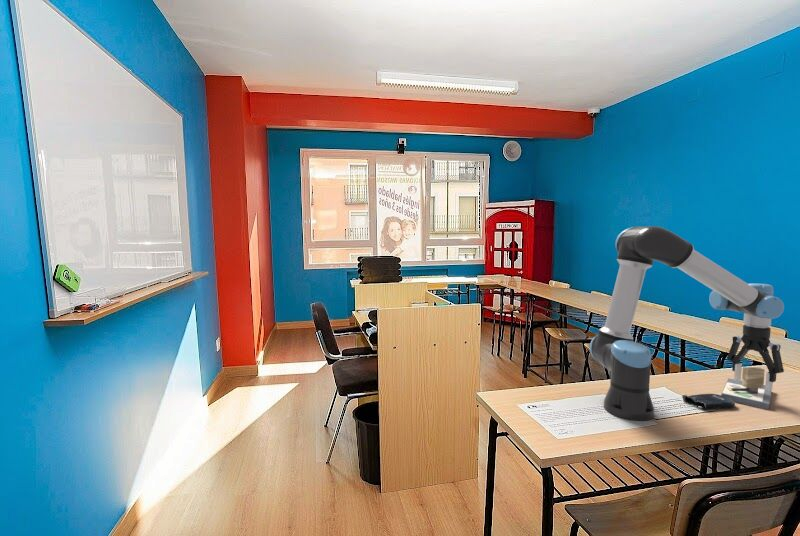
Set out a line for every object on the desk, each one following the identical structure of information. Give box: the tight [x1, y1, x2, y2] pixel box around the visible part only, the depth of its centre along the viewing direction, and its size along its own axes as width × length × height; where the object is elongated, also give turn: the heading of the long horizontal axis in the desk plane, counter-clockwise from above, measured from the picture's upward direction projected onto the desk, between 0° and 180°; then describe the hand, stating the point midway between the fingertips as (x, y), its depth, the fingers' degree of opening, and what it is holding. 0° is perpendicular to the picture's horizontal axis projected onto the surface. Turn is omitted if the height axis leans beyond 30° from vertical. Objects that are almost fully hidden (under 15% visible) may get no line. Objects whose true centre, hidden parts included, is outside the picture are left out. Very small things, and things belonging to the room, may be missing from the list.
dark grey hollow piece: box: [681, 393, 736, 411], centre depth 141 cm, size 9×6×15 cm
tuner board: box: [720, 377, 773, 410], centre depth 149 cm, size 22×13×2 cm, turn 135°
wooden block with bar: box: [732, 366, 766, 394], centre depth 146 cm, size 3×10×9 cm, turn 89°
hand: (752, 384), depth 146 cm, fingers open, 9 cm apart
